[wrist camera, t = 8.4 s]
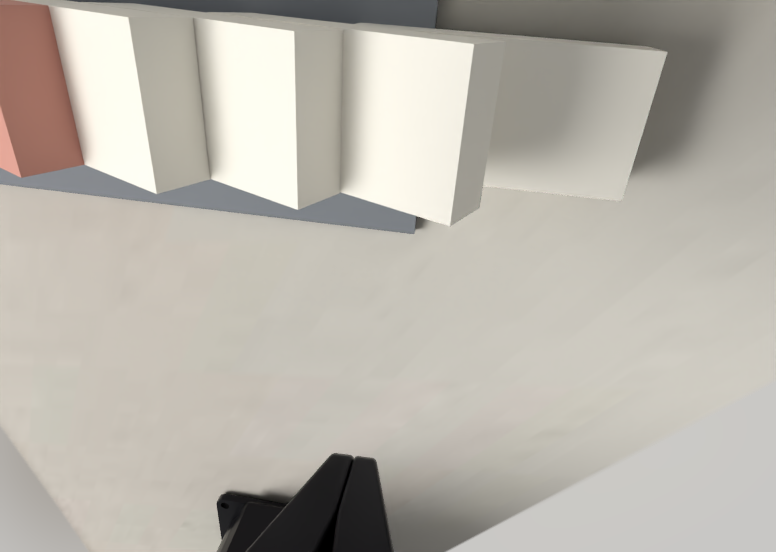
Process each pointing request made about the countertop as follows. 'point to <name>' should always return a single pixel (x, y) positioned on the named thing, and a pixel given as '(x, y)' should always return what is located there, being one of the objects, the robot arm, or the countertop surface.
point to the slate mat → (326, 3)
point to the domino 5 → (567, 113)
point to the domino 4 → (414, 116)
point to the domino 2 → (133, 92)
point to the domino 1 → (33, 95)
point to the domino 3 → (268, 104)
